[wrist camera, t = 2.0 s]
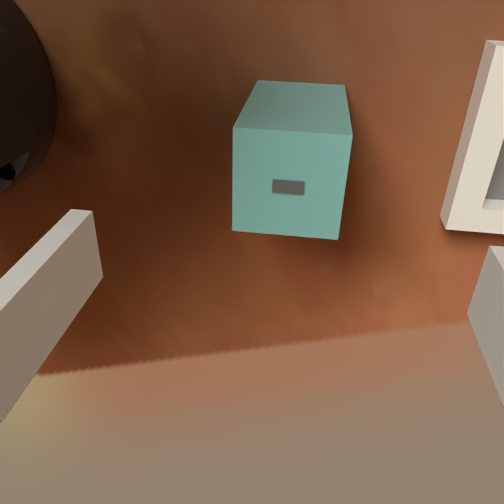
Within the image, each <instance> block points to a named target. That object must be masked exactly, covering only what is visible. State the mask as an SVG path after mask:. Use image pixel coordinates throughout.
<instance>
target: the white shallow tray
mask: <svg viewBox="0 0 504 504" xmlns="http://www.w3.org/2000/svg"><path fill="white" fill-rule="evenodd" d="M440 218H441V220H442V222H443V225H444V227H445V229H448V230H460V231H472V232H484V233H496V234H504V41H496V40H486V42H485V46H484V50H483V53H482V57H481V61H480V65H479V68H478V72H477V76H476V80H475V84H474V87H473V91H472V95H471V99H470V103H469V106H468V110H467V114H466V118H465V121H464V125H463V129H462V133H461V137H460V140H459V144H458V148H457V152H456V156H455V159H454V163H453V167H452V171H451V174H450V178H449V182H448V186H447V190H446V193H445V197H444V201H443V205H442V209H441V212H440Z"/></svg>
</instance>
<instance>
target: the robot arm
mask: <svg viewBox="0 0 504 504" xmlns="http://www.w3.org/2000/svg"><path fill="white" fill-rule="evenodd" d="M55 123H56V96H55V89H54V84H53V79H52V75H51V71H50V68H49V65H48V62H47V59H46V56H45V54H44V52H43V49H42V47H41V45H40V43H39V41H38V39H37V37H36V35H35V33H34V31H33V30H32V28H31V26H30V25H29V23H28V22H27V20H26V18H25V17H24V15H23V14H22V13H21V11H20V10H19V9H18V7H17V6H16V5H15V3H14V2H13V1H12V0H0V194H1V193H3V192H5V191H7V190H9V189H10V188H12V187H13V186H14V185H16V184H17V183H18V182H20V181H21V180H22V179H24V178H25V177H26V176H28V175H29V174H30V173H31V172H33V171H34V170H35V169H36V167H37V166H38V165H39V164H40V163H41V161H42V160H43V158H44V157H45V155H46V153H47V151H48V149H49V147H50V144H51V141H52V138H53V134H54V130H55ZM102 278H103V273H102V267H101V261H100V255H99V249H98V242H97V236H96V230H95V224H94V218H93V212H92V211H88V210H76V209H71V210H70V211H69V212H68V213H66V214H65V215H64V216H63V217H62V218H61V219H60V220H59V221H58V222H57V223H56V224H55V225H54V226H53V227H52V228H51V229H50V230H49V231H48V232H47V233H46V234H45V235H44V236H43V237H42V238H41V239H40V240H39V241H38V242H37V243H36V244H35V245H34V246H33V247H32V248H31V249H30V250H29V251H28V252H27V253H26V254H25V255H24V256H23V257H22V258H21V259H20V260H19V261H18V262H17V263H16V264H15V265H14V266H13V267H12V268H11V269H10V270H9V271H8V272H7V273H6V274H5V275H4V276H3V277H2V278H1V279H0V422H2V421H3V420H4V419H5V417H6V415H7V414H8V413H9V411H10V410H11V409H12V407H13V406H14V404H15V403H16V401H17V400H18V398H19V397H20V396H21V394H22V393H23V391H24V390H25V388H26V387H27V386H28V384H29V383H30V381H31V380H32V378H33V377H34V376H35V374H36V373H37V371H38V370H39V368H40V367H41V366H42V364H43V363H44V361H45V360H46V358H47V357H48V355H49V354H50V353H51V351H52V350H53V348H54V347H55V345H56V344H57V343H58V341H59V340H60V338H61V337H62V335H63V334H64V333H65V331H66V330H67V328H68V327H69V325H70V324H71V322H72V321H73V320H74V318H75V317H76V315H77V314H78V312H79V311H80V310H81V308H82V307H83V305H84V304H85V302H86V301H87V300H88V298H89V297H90V295H91V294H92V292H93V291H94V289H95V288H96V287H97V285H98V284H99V282H100V281H101V279H102ZM467 316H468V318H469V321H470V323H471V326H472V328H473V331H474V333H475V336H476V338H477V341H478V343H479V346H480V348H481V351H482V354H483V356H484V359H485V361H486V363H487V366H488V369H489V371H490V374H491V376H492V379H493V382H494V384H495V387H496V389H497V392H498V394H499V397H500V399H501V402H502V404H503V406H504V247H501V246H489V249H488V252H487V255H486V258H485V261H484V264H483V267H482V270H481V273H480V276H479V279H478V282H477V285H476V288H475V291H474V294H473V297H472V300H471V302H470V305H469V308H468V311H467Z"/></svg>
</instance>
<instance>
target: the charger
mask: <svg viewBox="0 0 504 504" xmlns="http://www.w3.org/2000/svg"><path fill="white" fill-rule="evenodd" d="M352 138H353V133H352V127H351V121H350V114H349V108H348V102H347V96H346V89H345V85H335V84H318V83H300V82H283V81H266V80H257V82H256V84H255V86H254V88H253V90H252V92H251V94H250V96H249V98H248V99H247V101H246V103H245V105H244V107H243V109H242V111H241V113H240V115H239V116H238V118H237V120H236V122H235V124H234V126H233V179H232V231H242V232H254V233H265V234H277V235H288V236H300V237H311V238H323V239H334V240H338V236H339V229H340V222H341V215H342V208H343V201H344V194H345V187H346V180H347V173H348V166H349V159H350V152H351V145H352Z"/></svg>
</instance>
